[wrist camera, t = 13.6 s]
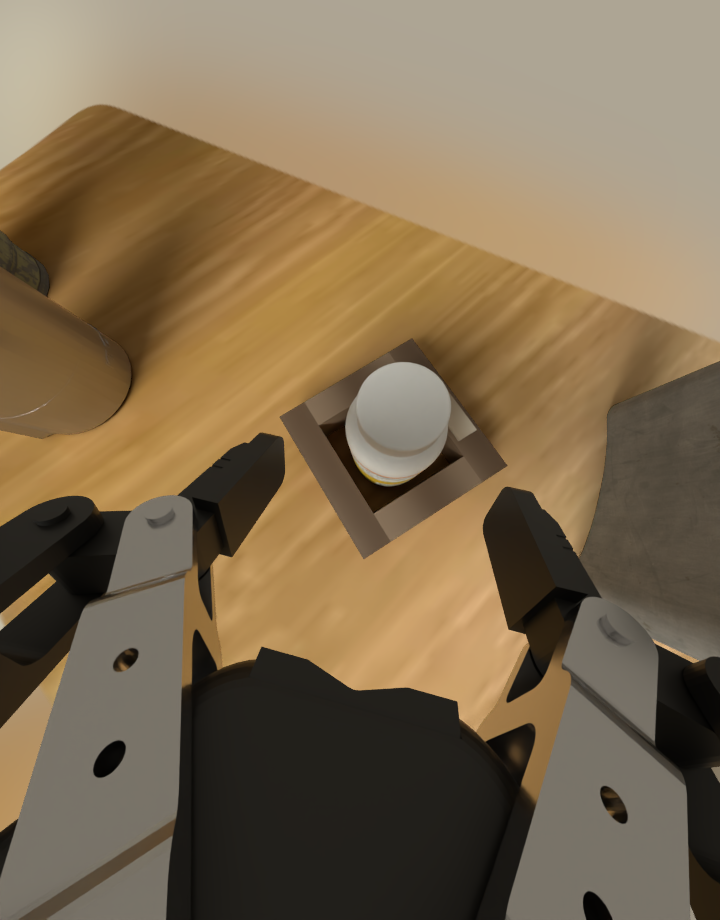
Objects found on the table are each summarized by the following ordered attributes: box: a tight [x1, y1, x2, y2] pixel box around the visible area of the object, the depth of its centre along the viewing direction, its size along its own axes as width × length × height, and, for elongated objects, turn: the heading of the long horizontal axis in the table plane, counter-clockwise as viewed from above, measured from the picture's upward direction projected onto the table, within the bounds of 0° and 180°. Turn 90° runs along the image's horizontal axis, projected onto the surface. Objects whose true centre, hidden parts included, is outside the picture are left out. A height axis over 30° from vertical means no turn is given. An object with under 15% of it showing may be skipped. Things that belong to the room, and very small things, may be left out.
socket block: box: [280, 339, 507, 559], centre depth 19 cm, size 11×11×3 cm
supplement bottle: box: [345, 362, 451, 487], centre depth 15 cm, size 5×5×10 cm
